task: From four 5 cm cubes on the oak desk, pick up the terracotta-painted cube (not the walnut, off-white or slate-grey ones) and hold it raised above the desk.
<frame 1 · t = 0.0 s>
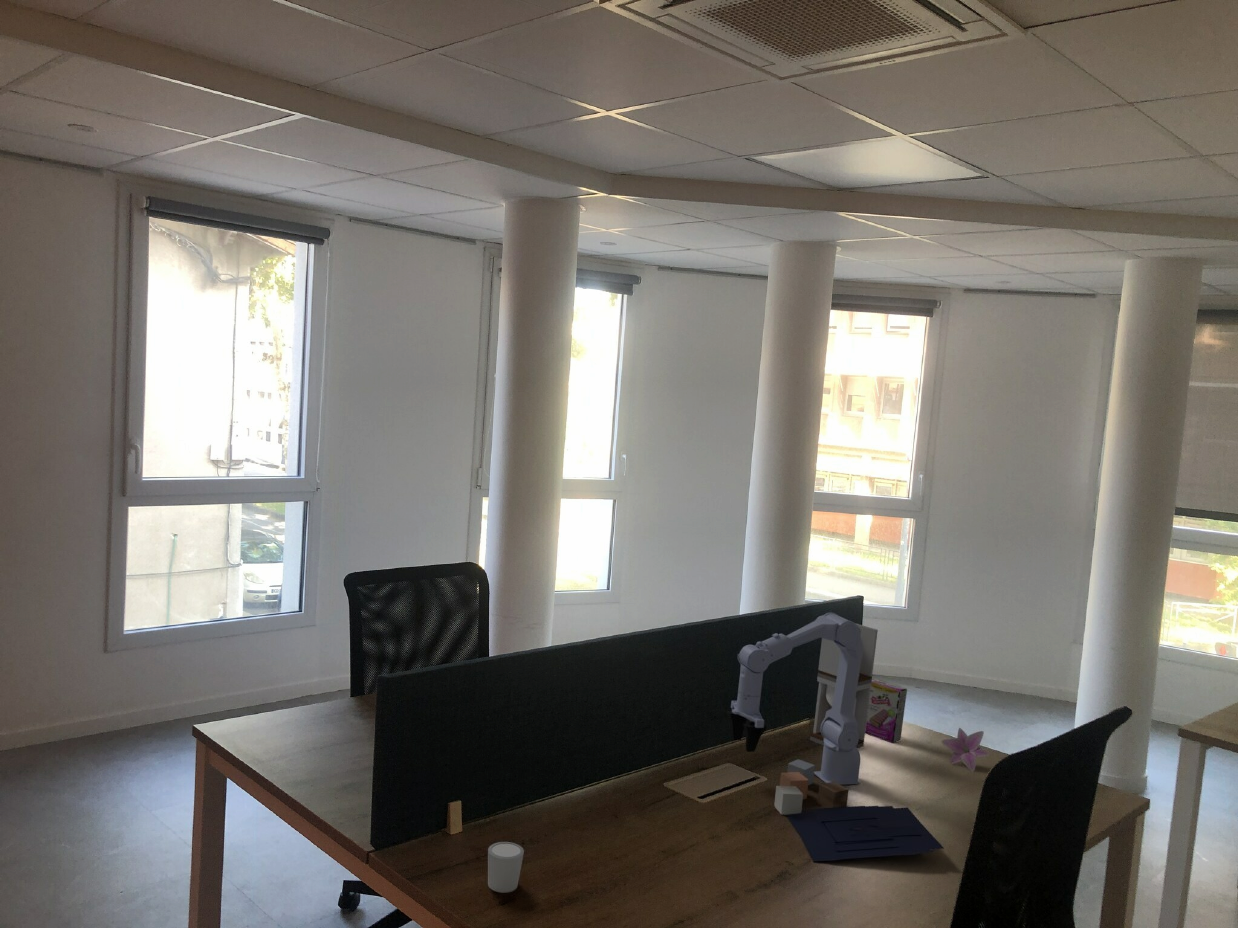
hand: (743, 745, 242), 10 cm above the table, fingers open, 7 cm apart
terracotta cube: (792, 795, 239), on the table
candy bar box: (880, 737, 290), on the table
shot glass: (502, 885, 183), on the table
offwhite cube: (787, 810, 230), on the table, touching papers
walnut cube: (831, 806, 235), on the table
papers: (860, 841, 218), on the table, touching offwhite cube
slate cube: (799, 782, 248), on the table
display case: (836, 743, 280), on the table
lily: (963, 764, 274), on the table
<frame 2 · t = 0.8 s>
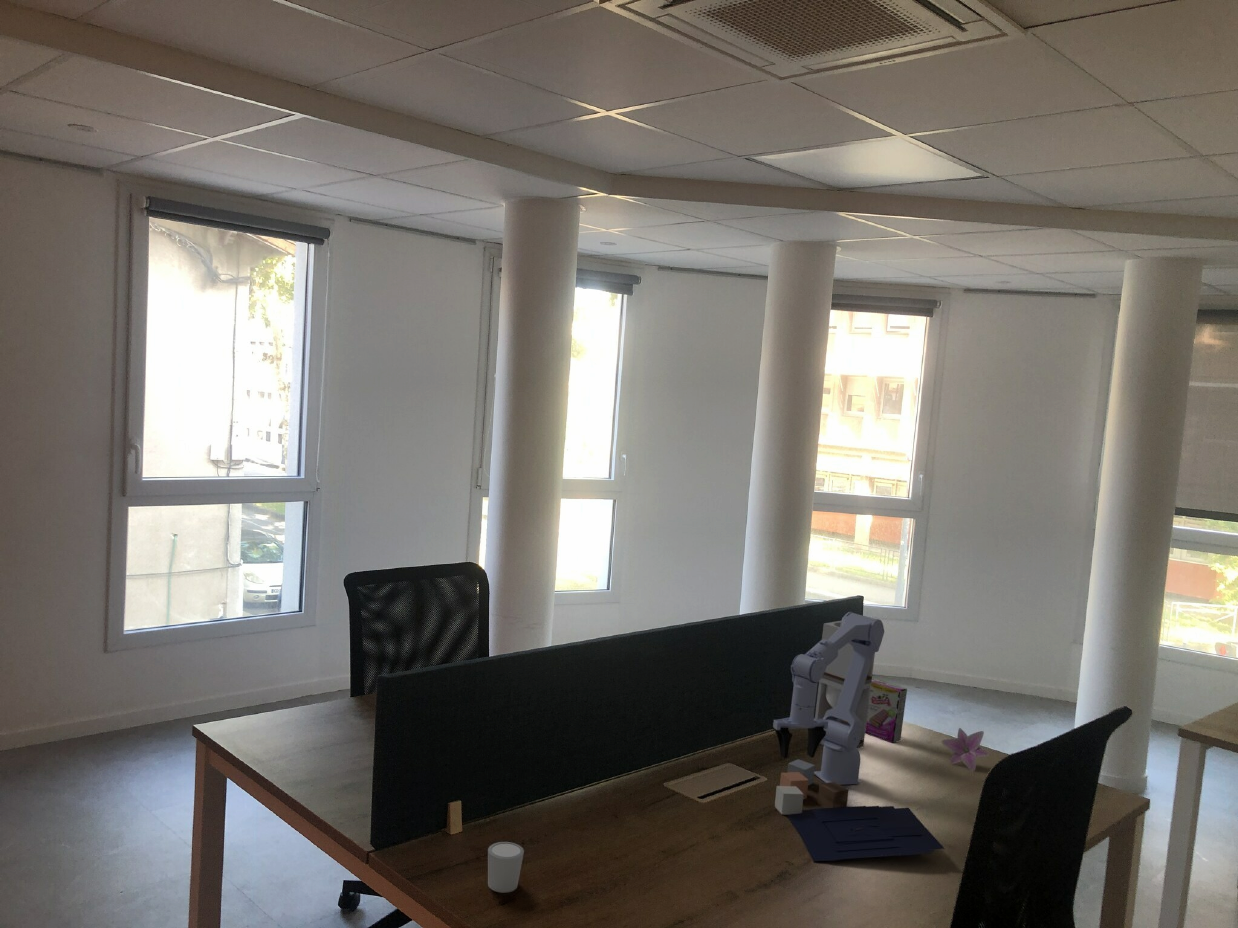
hand: (797, 756, 239), 10 cm above the table, fingers open, 7 cm apart
nothing on the table moved.
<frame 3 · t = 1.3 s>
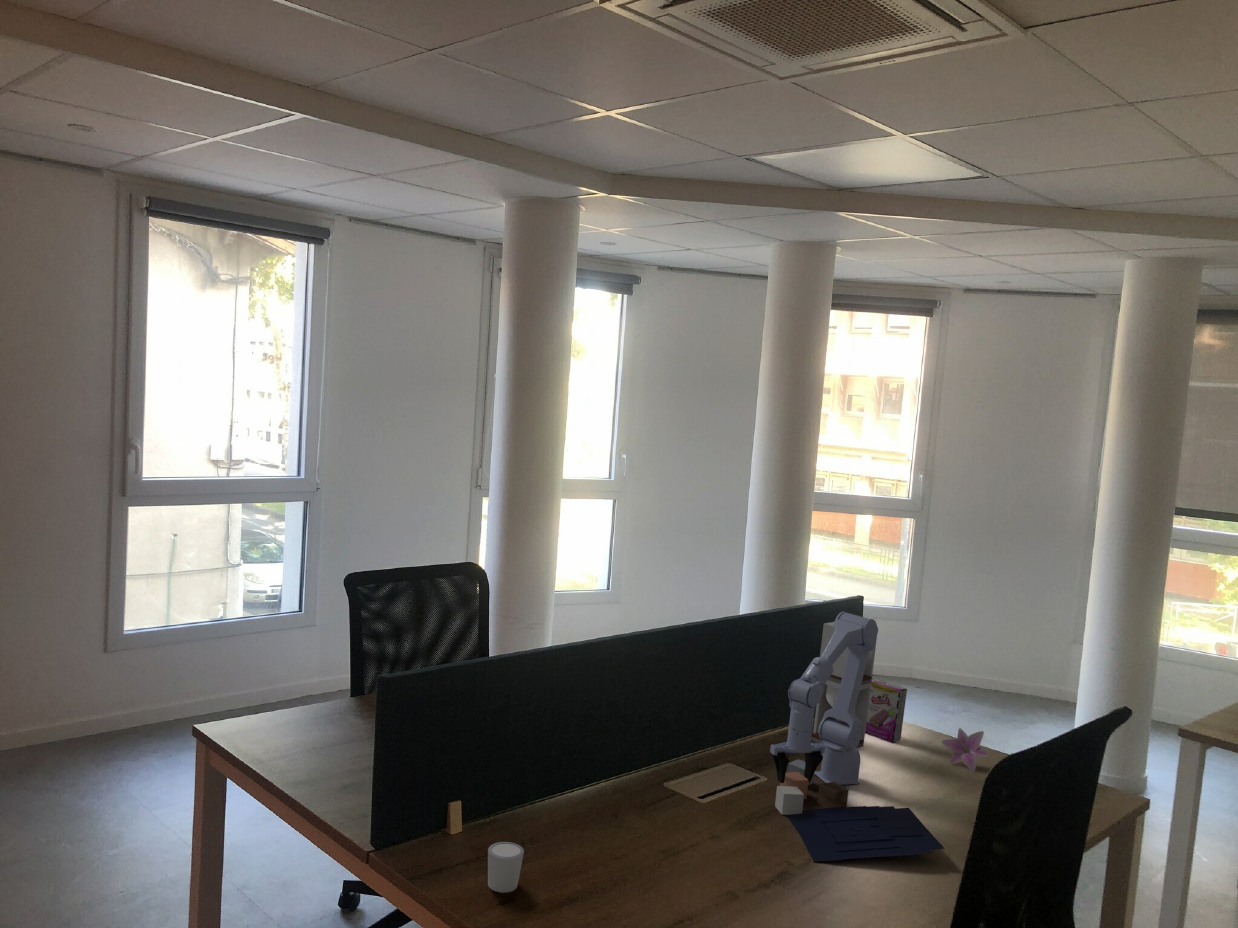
hand: (794, 780, 239), 4 cm above the table, fingers open, 7 cm apart
offwhite cube: (788, 810, 230), on the table
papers: (861, 841, 218), on the table
everything else where it was.
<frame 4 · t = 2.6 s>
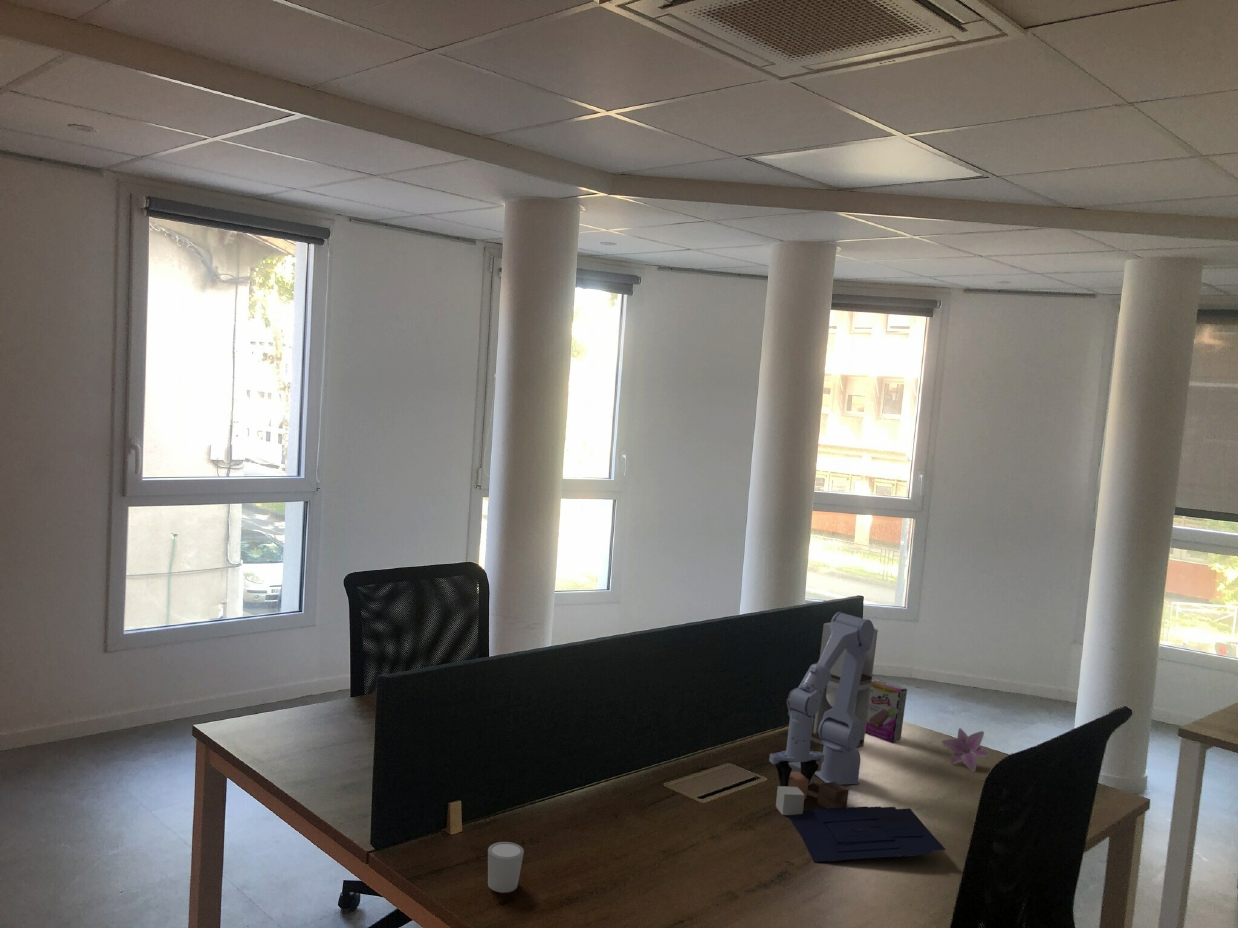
hand: (793, 789, 239), 1 cm above the table, fingers closed on terracotta cube, 5 cm apart
terracotta cube: (792, 795, 239), on the table, touching gripper
offwhite cube: (788, 810, 229), on the table, touching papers
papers: (862, 842, 218), on the table, touching offwhite cube
everything else where it was.
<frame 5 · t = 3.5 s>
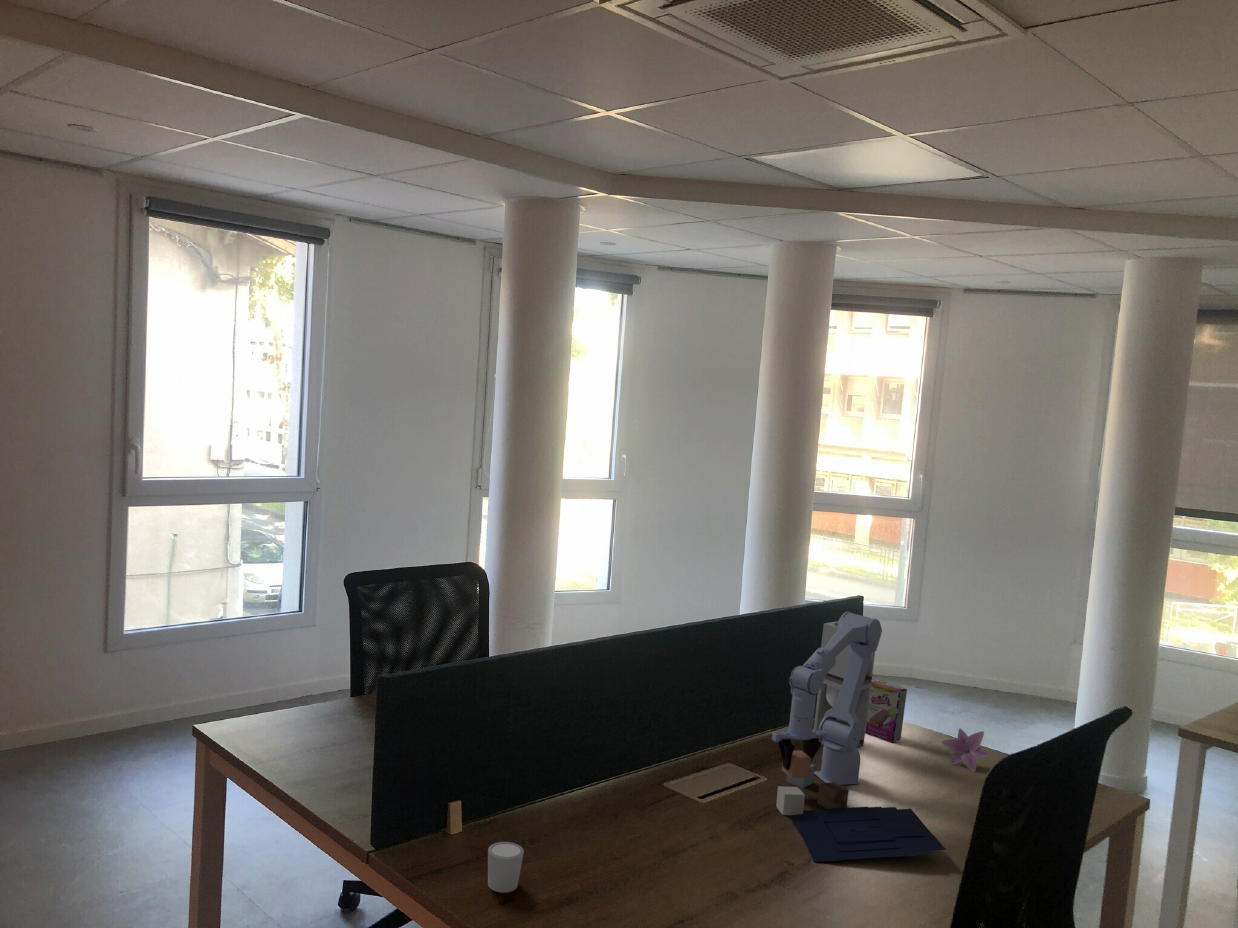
hand: (795, 767, 239), 7 cm above the table, fingers closed on terracotta cube, 5 cm apart
terracotta cube: (795, 773, 239), point 6 cm above the table, touching gripper
offwhite cube: (789, 810, 229), on the table, touching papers
everything else where it was.
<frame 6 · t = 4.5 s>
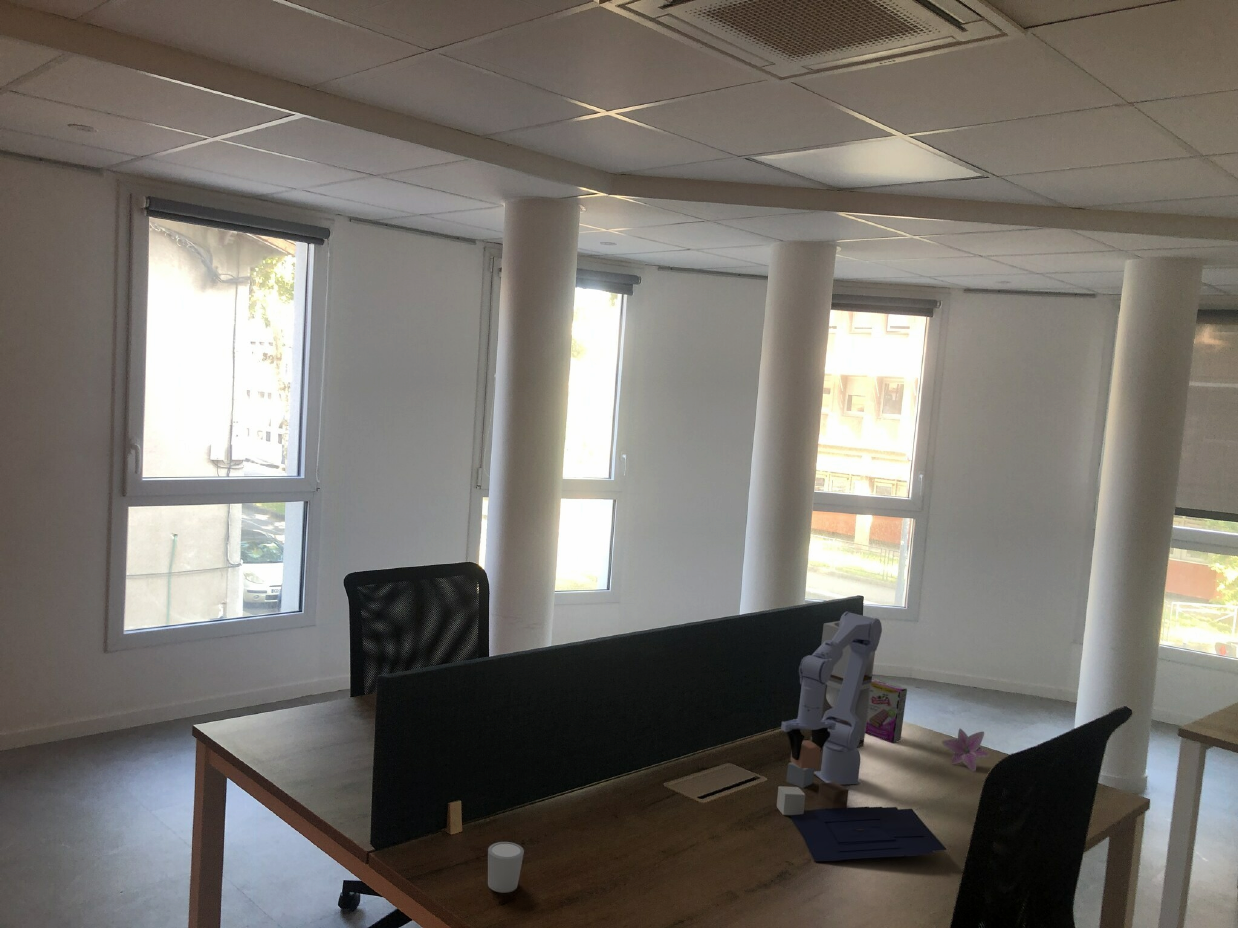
hand: (804, 757, 237), 10 cm above the table, fingers closed on terracotta cube, 5 cm apart
terracotta cube: (804, 763, 237), point 9 cm above the table, touching gripper
everything else where it was.
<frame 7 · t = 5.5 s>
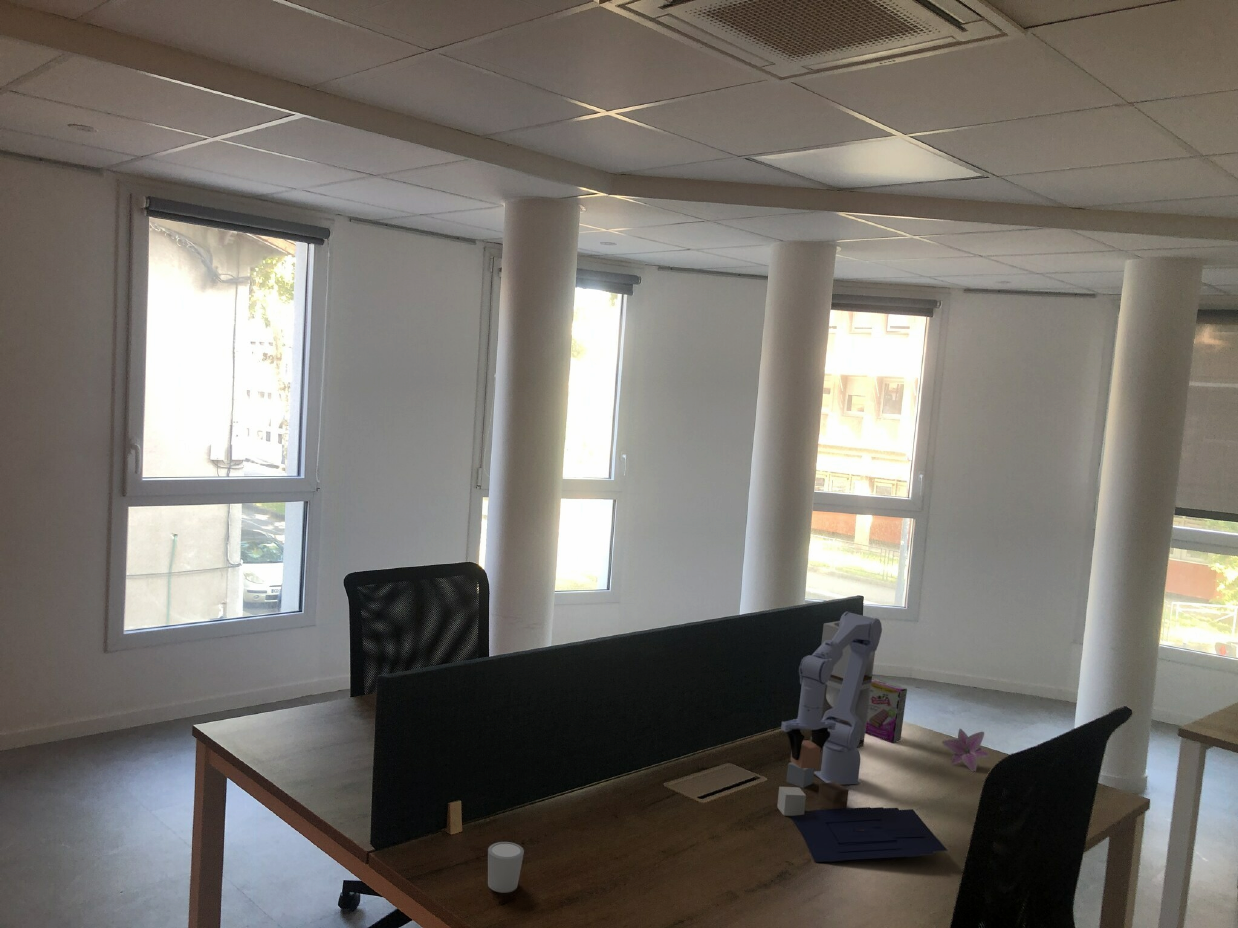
hand: (804, 757, 237), 10 cm above the table, fingers closed on terracotta cube, 5 cm apart
terracotta cube: (804, 763, 237), point 9 cm above the table, touching gripper
offwhite cube: (790, 811, 229), on the table
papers: (864, 842, 218), on the table
everything else where it was.
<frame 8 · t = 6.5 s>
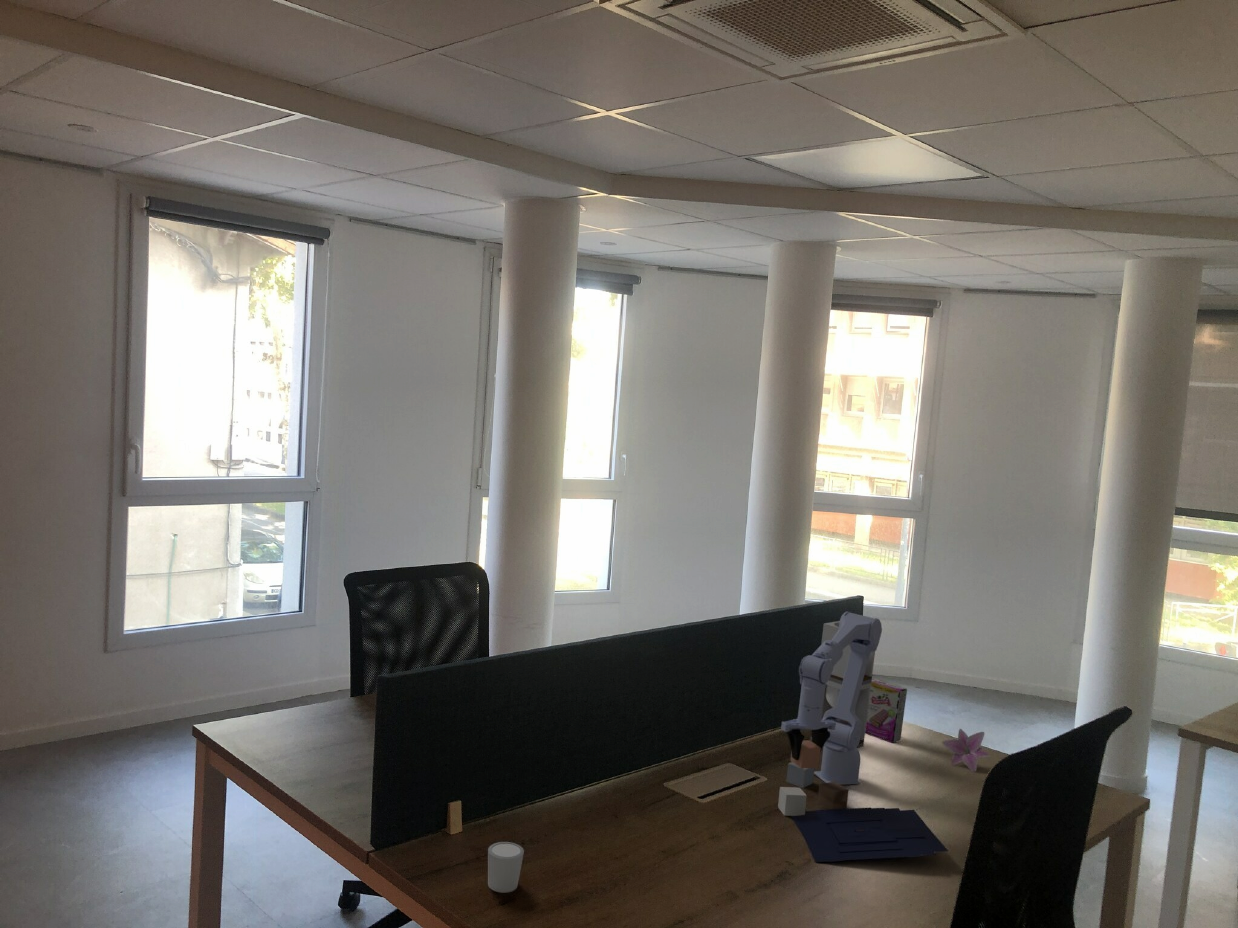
hand: (804, 757, 237), 10 cm above the table, fingers closed on terracotta cube, 5 cm apart
terracotta cube: (804, 763, 237), point 9 cm above the table, touching gripper
everything else where it was.
at the end: the gripper is holding terracotta cube; terracotta cube point 8.9 cm above the table; slate cube moved 0.1 cm from its start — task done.
